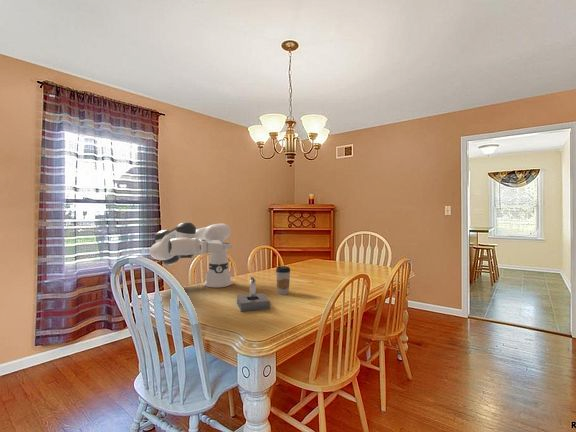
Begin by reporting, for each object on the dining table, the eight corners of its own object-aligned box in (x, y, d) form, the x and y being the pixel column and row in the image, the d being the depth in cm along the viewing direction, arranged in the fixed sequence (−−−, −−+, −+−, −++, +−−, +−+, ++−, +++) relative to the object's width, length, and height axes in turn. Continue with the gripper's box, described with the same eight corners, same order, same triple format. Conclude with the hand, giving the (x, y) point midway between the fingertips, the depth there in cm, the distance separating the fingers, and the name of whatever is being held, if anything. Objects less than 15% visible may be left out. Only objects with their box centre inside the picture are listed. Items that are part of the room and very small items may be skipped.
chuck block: (236, 303, 159) (236, 295, 159) (263, 300, 163) (263, 293, 163) (240, 311, 146) (240, 303, 146) (269, 309, 150) (269, 300, 150)
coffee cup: (277, 295, 173) (277, 269, 173) (274, 291, 181) (274, 266, 181) (292, 294, 175) (292, 268, 175) (288, 290, 183) (288, 265, 183)
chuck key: (248, 304, 157) (248, 277, 156) (254, 304, 158) (254, 276, 157) (250, 307, 152) (250, 279, 151) (256, 307, 153) (256, 279, 152)
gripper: (201, 249, 165) (228, 248, 169) (203, 255, 145) (232, 253, 149) (201, 237, 164) (228, 237, 169) (203, 241, 145) (233, 240, 149)
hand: (230, 245), depth 159 cm, fingers open, 8 cm apart
